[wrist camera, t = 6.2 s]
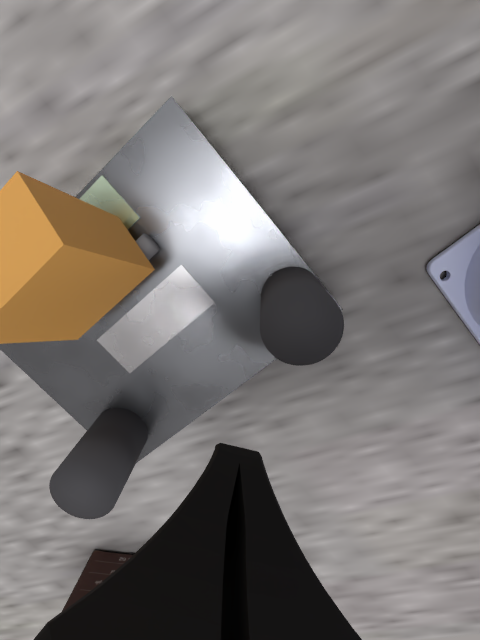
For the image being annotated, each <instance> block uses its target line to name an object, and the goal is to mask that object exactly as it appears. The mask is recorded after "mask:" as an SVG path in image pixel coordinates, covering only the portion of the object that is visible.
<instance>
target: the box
mask: <svg viewBox="0 0 480 640" xmlns="http://www.w3.org/2000/svg"><path fill="white" fill-rule="evenodd" d="M132 556H133V555H128V554H119V553H110V552H103V551H98V550H95V551H93V553H92V555H91V557H90V559H89V561H88V562H87V564H86V566H85V568H84V570H83V572H82V574H81V576H80V578H79V580H78V582H77V584H76V585H75V587H74V589H73V591H72V593H71V595H70V597H69V599H68V601H67V603H66V605H65V606H64V608H63V610H62V612H63V611H64V610H65V609H67V608H68V607H70V606H71V605H72V604H74V603H75V602H76V601H78V600H79V599H81V598H82V597H83V596H85V595H86V594H87V593H89V592H90V591H91V590H93V589H94V588H95V587H96V586H98V585H99V584H100V583H101V582H102V581H104V580H105V579H106V578H107V577H108V576H110V575H111V574H112V573H113V572H114V571H116V570H117V569H118V568H119V567H120V566H121V565H123V564H124V563H125V562H126V561H127V560H128V559H130V558H131V557H132Z"/></svg>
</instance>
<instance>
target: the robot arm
mask: <svg viewBox="0 0 480 640" xmlns="http://www.w3.org/2000/svg"><path fill="white" fill-rule="evenodd" d="M443 271H446V273H447V275H446V277H445V278H444V279H440V274H441V273H442V272H443ZM427 272H428V274H429V275H430V277H431V278H432V280H433V281H434V282H435V284H436V285H437V286H438V288H439V289H440V291H441V292H442V293H443V295H444V296H445V298H446V299H447V300H448V302H449V303H450V304H451V306H452V307H453V309H454V310H455V311H456V313H457V314H458V315H459V317H460V318H461V320H462V321H463V322H464V324H465V325H466V327H467V328H468V329H469V331H470V332H471V333H472V335H473V336H474V338H475V339H476V340H477V342H478V343H479V344H480V225H478V226H477V227H475V228H474V229H473V230H471V231H470V232H469V233H467V234H466V235H464V236H463V237H462V238H460V239H459V240H458V241H456V242H455V243H454V244H452V245H451V246H449V247H448V248H447V249H445V250H444V251H443V252H441V253H440V254H439V255H437V256H436V257H434V258H433V259H432V260H431V261H430V262H429V263H428V265H427ZM34 640H362V639H361V638H360V637H359V635H358V634H357V633H356V632H355V630H354V629H353V628H352V627H351V625H350V624H349V623H348V621H347V620H346V618H345V617H344V616H343V614H342V613H341V611H340V610H339V609H338V607H337V606H336V604H335V603H334V602H333V600H332V599H331V597H330V596H329V595H328V593H327V592H326V590H325V589H324V587H323V586H322V584H321V583H320V581H319V579H318V578H317V576H316V575H315V573H314V572H313V570H312V568H311V566H310V565H309V563H308V561H307V560H306V558H305V556H304V555H303V553H302V551H301V549H300V547H299V545H298V544H297V542H296V540H295V538H294V536H293V534H292V532H291V530H290V528H289V526H288V524H287V522H286V520H285V517H284V515H283V513H282V511H281V508H280V506H279V504H278V501H277V499H276V497H275V494H274V492H273V489H272V487H271V484H270V481H269V479H268V476H267V473H266V470H265V467H264V464H263V460H262V457H261V455H260V453H259V452H257V451H252V450H248V449H244V448H240V447H236V446H231V445H227V444H223V443H219V444H217V445H216V446H215V450H214V453H213V455H212V457H211V460H210V462H209V463H208V465H207V467H206V469H205V470H204V472H203V474H202V475H201V477H200V478H199V480H198V481H197V483H196V484H195V486H194V487H193V489H192V490H191V492H190V493H189V494H188V495H187V497H186V498H185V499H184V501H183V502H182V503H181V505H180V506H179V507H178V508H177V510H176V511H175V512H174V513H173V514H172V516H171V517H170V518H169V519H168V520H167V521H166V522H165V524H164V525H163V526H162V527H161V528H160V529H159V530H158V531H157V532H156V533H155V534H154V535H153V536H152V537H151V538H150V539H149V540H148V541H147V542H146V543H145V544H144V545H143V546H142V547H141V548H140V549H139V550H138V551H137V552H136V553H135V554H134V555H133V556H132V557H131V558H130V559H128V560H127V561H126V562H125V563H124V564H123V565H121V566H120V567H119V568H118V569H117V570H116V571H114V572H113V573H112V574H111V575H110V576H108V577H107V578H106V579H105V580H104V581H102V582H101V583H100V584H99V585H98V586H96V587H95V588H94V589H93V590H91V591H90V592H89V593H87V594H86V595H85V596H83V597H82V598H81V599H79V600H78V601H76V602H75V603H74V604H72V605H71V606H70V607H68V608H67V609H65V610H64V611H63V612H61V613H60V614H58V615H57V616H56V617H54V618H53V619H52V620H50V621H49V622H48V623H47V624H46V625H45V626H44V627H43V629H42V630H41V631H40V632H39V634H38V635H37V636H36V637H35V639H34Z"/></svg>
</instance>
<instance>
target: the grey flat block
mask: <svg viewBox="0 0 480 640" xmlns="http://www.w3.org/2000/svg"><path fill="white" fill-rule="evenodd" d="M75 198H78V199H80V200H82V201H84V202H86V203H89V204H91V205H93V206H95V207H97V208H100V209H102V210H104V211H106V212H108V213H111V214H113V215H115V216H117V217H119V218H120V220H121V221H122V223H123V224H124V226H125V227H126V228H127V230H128V231H129V233H130V234H131V236H132V237H133V239H134V240H135V241H136V240H137V239H138V238H139V237H140V236H141V235H142V234H147V235H148V236H149V237H151V238H152V239H153V240H154V241H155V242H156V244H157V245H158V247H159V249H160V250H159V251H158V252H157V253H156V254H155V255H154V256H153V257H152V258H151V259H150V260H149V262H150V263H151V265H152V266H153V268H154V269H155V270H154V271H153V272H152V273H150V274H149V275H148V276H147V277H146V278H145V279H144V280H143V281H142V282H141V283H139V284H138V285H137V286H136V287H135V288H134V289H133V290H132V291H131V292H130V293H128V294H127V295H126V296H125V297H124V298H123V299H122V300H121V301H120V302H119V303H117V304H116V305H115V306H114V307H113V308H112V309H111V310H110V311H109V312H108V313H106V314H105V315H104V316H103V317H102V318H101V319H100V320H99V321H98V322H97V323H95V324H94V325H93V326H92V327H91V328H90V329H89V330H88V331H87V332H86V333H84V334H83V335H82V336H81V337H80V338H79V339H78V340H62V341H43V342H24V343H5V344H0V350H2V351H3V352H4V353H5V354H6V355H7V356H8V357H9V358H10V359H11V360H12V361H13V362H14V363H15V364H17V365H18V366H19V367H20V368H21V369H22V370H23V371H24V372H25V373H26V374H27V375H28V376H29V377H30V378H31V379H33V380H34V381H35V382H36V383H37V384H38V385H39V386H40V387H41V388H42V389H43V390H44V391H45V392H46V393H47V394H49V395H50V396H51V397H52V398H53V399H54V400H55V401H56V402H57V403H58V404H59V405H60V406H61V407H62V408H64V409H65V410H66V411H67V412H68V413H69V414H70V415H71V416H72V417H73V418H74V419H75V420H76V421H77V422H78V423H80V424H81V425H82V426H83V427H84V428H85V429H86V430H87V431H88V429H89V428H90V427H91V425H92V424H93V423H94V422H95V420H96V419H97V418H98V417H99V415H100V414H101V413H103V412H104V411H106V410H108V409H111V408H124V409H128V410H130V411H132V412H134V413H136V414H137V415H138V416H139V417H140V418H141V419H142V420H143V421H144V423H145V425H146V427H147V431H148V438H147V441H146V443H145V445H144V447H143V449H142V451H141V453H140V455H139V458H138V460H137V462H138V461H140V460H141V459H142V458H144V457H145V456H146V455H148V454H149V453H150V452H152V451H153V450H154V449H156V448H157V447H158V446H160V445H161V444H162V443H164V442H165V441H167V440H168V439H169V438H171V437H172V436H173V435H175V434H176V433H177V432H179V431H180V430H181V429H183V428H184V427H185V426H187V425H188V424H189V423H191V422H192V421H193V420H195V419H196V418H197V417H199V416H200V415H201V414H203V413H204V412H206V411H207V410H208V409H210V408H211V407H212V406H214V405H215V404H216V403H218V402H219V401H220V400H222V399H223V398H224V397H226V396H227V395H228V394H230V393H231V392H232V391H234V390H235V389H236V388H238V387H239V386H241V385H242V384H243V383H245V382H246V381H247V380H249V379H250V378H251V377H253V376H254V375H255V374H257V373H258V372H259V371H261V370H262V369H263V368H265V367H266V366H267V365H269V364H270V363H271V362H273V361H274V360H275V359H277V358H276V357H274V356H273V355H272V354H271V353H270V352H269V351H268V350H267V348H266V347H265V345H264V343H263V341H262V338H261V334H260V304H261V291H262V287H263V285H264V283H265V281H266V280H267V279H268V277H269V276H270V275H272V274H273V273H274V272H275V271H277V270H279V269H282V268H285V267H291V266H294V267H301V268H304V269H307V270H309V271H310V272H312V270H311V269H310V268H309V267H308V265H307V264H306V263H305V262H304V260H303V259H302V258H301V257H300V255H299V254H298V253H297V252H296V250H295V249H294V248H293V247H292V245H291V244H290V243H289V242H288V240H287V239H286V238H285V237H284V235H283V234H282V233H281V232H280V230H279V229H278V228H277V227H276V225H275V224H274V223H273V222H272V220H271V219H270V218H269V217H268V215H267V214H266V213H265V212H264V210H263V209H262V208H261V207H260V205H259V204H258V203H257V202H256V200H255V199H254V198H253V197H252V195H251V194H250V193H249V192H248V190H247V189H246V188H245V187H244V185H243V184H242V183H241V182H240V180H239V179H238V178H237V177H236V175H235V174H234V173H233V172H232V170H231V169H230V168H229V167H228V165H227V164H226V163H225V162H224V160H223V159H222V158H221V157H220V155H219V154H218V153H217V152H216V150H215V149H214V148H213V147H212V145H211V144H210V143H209V142H208V140H207V139H206V138H205V137H204V135H203V134H202V133H201V132H200V130H199V129H198V128H197V127H196V125H195V124H194V123H193V122H192V120H191V119H190V118H189V117H188V115H187V114H186V113H185V112H184V110H183V109H182V108H181V107H180V106H179V104H178V103H177V102H176V101H175V99H174V98H173V97H172V96H171V97H170V98H169V99H168V100H167V101H166V102H165V103H164V104H163V105H162V107H161V108H160V109H159V110H158V111H157V112H156V113H155V114H154V115H153V116H152V117H151V118H150V119H149V120H148V121H147V122H146V123H145V124H144V126H143V127H142V128H141V129H140V130H139V131H138V132H137V133H136V134H135V135H134V136H133V137H132V138H131V139H130V140H129V141H128V142H127V143H126V145H125V146H124V147H123V148H122V149H121V150H120V151H119V152H118V153H117V154H116V155H115V156H114V157H113V158H112V159H111V160H110V161H109V162H108V163H107V165H106V166H105V167H104V168H103V169H102V170H101V171H100V172H99V173H98V174H97V175H96V176H95V177H94V178H93V179H92V180H91V181H90V182H89V184H88V185H87V186H86V187H85V188H84V189H83V190H82V191H81V192H80V193H79V194H78V195H77V196H76V197H75ZM312 273H313V272H312ZM313 274H314V273H313ZM314 275H315V274H314ZM315 276H316V275H315ZM319 281H320V280H319ZM322 285H323V284H322ZM323 286H324V285H323ZM326 290H327V289H326ZM327 291H328V290H327ZM329 294H330V293H329ZM330 295H331V294H330ZM331 296H332V295H331ZM332 298H333V297H332ZM333 299H334V298H333ZM334 300H335V299H334ZM335 301H336V300H335ZM336 303H337V302H336ZM337 304H338V303H337ZM338 306H339V308H340V310H343V309H342V308H341V307H340V305H339V304H338ZM137 462H136V463H137Z"/></svg>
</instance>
